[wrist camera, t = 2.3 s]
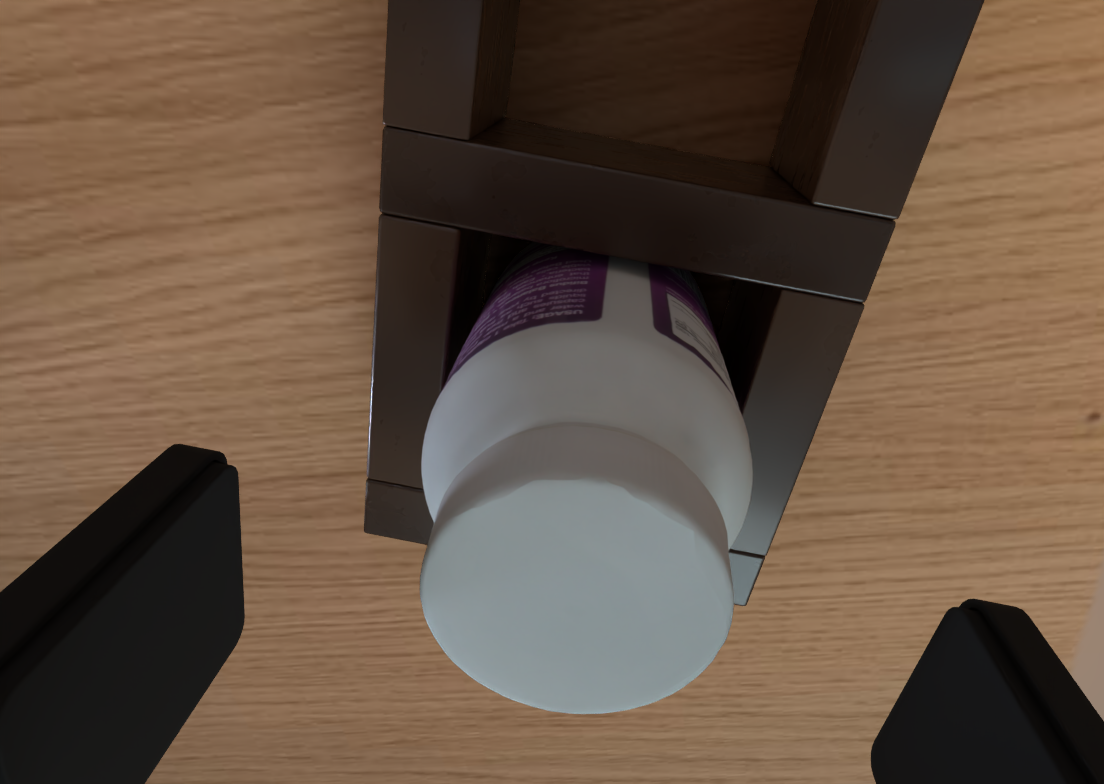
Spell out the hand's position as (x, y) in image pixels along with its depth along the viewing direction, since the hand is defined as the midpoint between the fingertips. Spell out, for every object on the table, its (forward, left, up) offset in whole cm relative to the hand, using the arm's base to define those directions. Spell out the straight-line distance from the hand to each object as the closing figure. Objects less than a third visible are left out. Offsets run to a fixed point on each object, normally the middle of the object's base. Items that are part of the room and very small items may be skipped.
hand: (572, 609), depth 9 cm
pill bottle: (0, 0, -9) cm, 9 cm away
